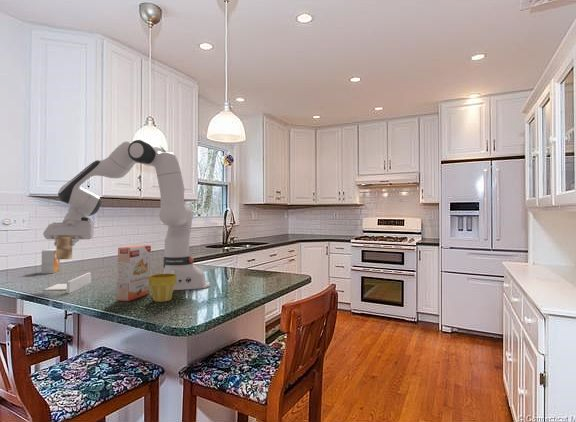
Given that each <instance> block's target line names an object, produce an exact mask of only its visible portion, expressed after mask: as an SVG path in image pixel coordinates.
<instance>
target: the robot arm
mask: <svg viewBox="0 0 576 422" xmlns="http://www.w3.org/2000/svg"><path fill="white" fill-rule="evenodd" d="M137 163H138V164H142V165H144V166H149V167H153V168H154V170H155V171H156V177H157V182H158V187H159V194H160V212H159V220H160V221H161V222H162V223H163V224H164V225H165V226H167V231H166V237H165V239H164V256H163V259H162V260H163V261H162V267H163V272H162V274H176V283H175V284H174V289H173V291H181V290H198V289H206V288H209V287H210V285H211V282H210V281H208V280H206V275H205V272H204V271H203V270H202V269H201V268H199V266H197V265H196V264H194V261H195V259H194V257H192V256H190V238H191V237H190V236H191V231H192V224H193V218H194V213H193V210H192V209H191V208H190V207H189V206H188V205H186V204H185V186H184V182H183V181H184V180H183V175H182V170H181V166H180V164H179V161H178V158H177V155H176V154H174V153H173V152H169V151H166V150H165V149H164V148H163V147H162V146H161V145H158V144H156V143H154V142H152V141H147V140H144V139H136V140H133V141H124V142H122V143H121V144H119V145H118V146H117V147H116V148H115V149H114V150H113V151H112V152H111V153H110V154H109V155H108V157H106V158H104V159H102V160H98V159H96V160H94V161H92V162H91V163H89V165H87V166H86V167H85V168H83V169H82V170H81V171H80V172H79V173H78V174H77V175H75V176H74V177H73V178H71V179H70V180H68V182H66V183H65V184H63V185H62V186H61V187H60V188H59V190H58V192H57V196H58V198H59V200H60V201H61V202H62V203H65V204H68V205H69V207H68V210H67V213H65V216H64V218H63V219H62V222H52V223H50V224H48V225H47V227H46V228H45V230H44V231H43V234H42V235H43V237H44V238H45V240H54V243H53V245H54V247H56V245H57V237H73V241H70V246H72V247H74V246H75V245H76V244H77V243H78V242H79V241H80V240H91V239H92V238H93V236H94V233H95V232H94V228H95V224H94V222H93V219H92V218H91V217H92V216H93V215H95V214H97V213H98V211H99V209H100V207H101V205H102V199H101V197H100V196H99V195H97V194H95V193H93V192H91V191H89V190H88V189H85V188H83V187H82V185H83V184H84V183H85V182H86V181H87V180H89V179H90V178H91V177H94V176H96V177H97V176H98V177H106V178H109V179H121V178H124V177H125V176H126V175H127V174H128V173H129V172H130V171H131V169H132V168H133V167H134V166H135V164H137Z"/></svg>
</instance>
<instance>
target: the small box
mask: <svg viewBox="0 0 576 422" xmlns="http://www.w3.org/2000/svg"><path fill="white" fill-rule="evenodd" d="M60 261H61V259H56V248H55V249H54V248H49V249H43V250H41V272H40V273H41V274H54V273H57V272H58V273H59V272H60Z"/></svg>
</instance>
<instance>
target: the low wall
mask: <svg viewBox="0 0 576 422" xmlns="http://www.w3.org/2000/svg"><path fill="white" fill-rule="evenodd" d="M91 283H92V272H86V273H84V274H81V275H80V276H77V277H74V278H72V279H70V280H67V281H66V284H67V290H66V294H67V293H69V294H72V293H73V291H74V292H75V290H76V291H77V290H79V289H82V288H83V287H85V286H87V285H89V284H91ZM71 292H72V293H71Z"/></svg>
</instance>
